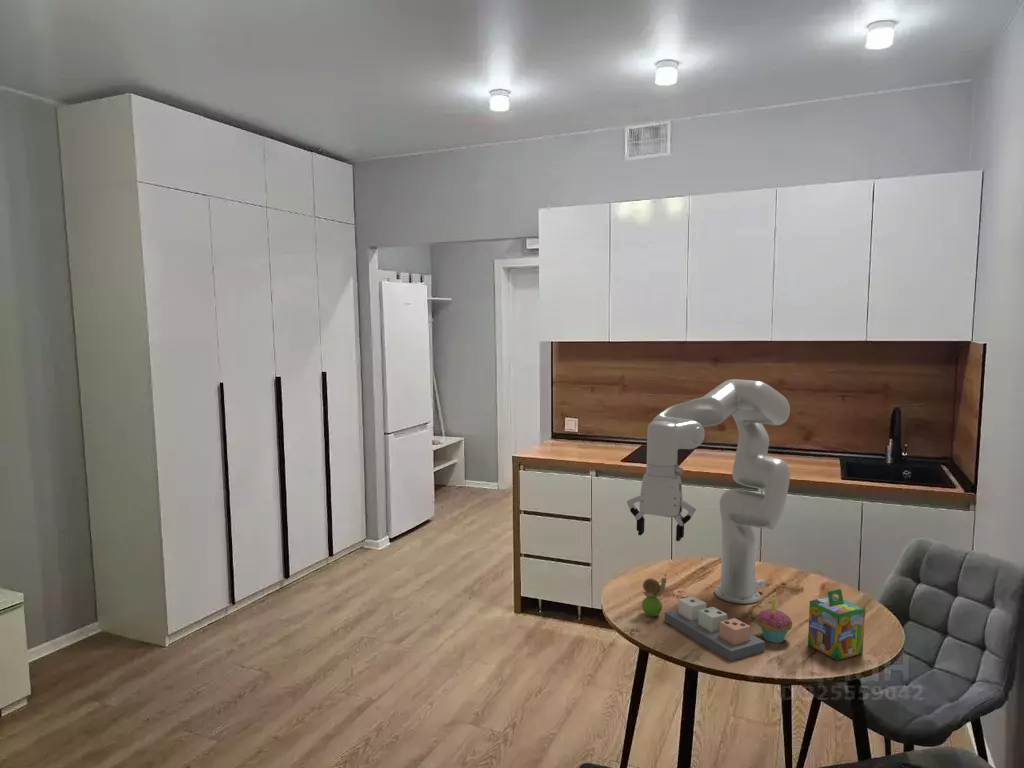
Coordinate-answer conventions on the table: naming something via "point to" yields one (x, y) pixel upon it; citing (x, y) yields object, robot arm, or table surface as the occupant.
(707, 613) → the two pip tile
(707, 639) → the button board
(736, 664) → the table surface
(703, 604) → the one pip tile
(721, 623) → the pink dice cube
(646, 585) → the snail figurine
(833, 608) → the chalk box
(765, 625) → the cupcake
